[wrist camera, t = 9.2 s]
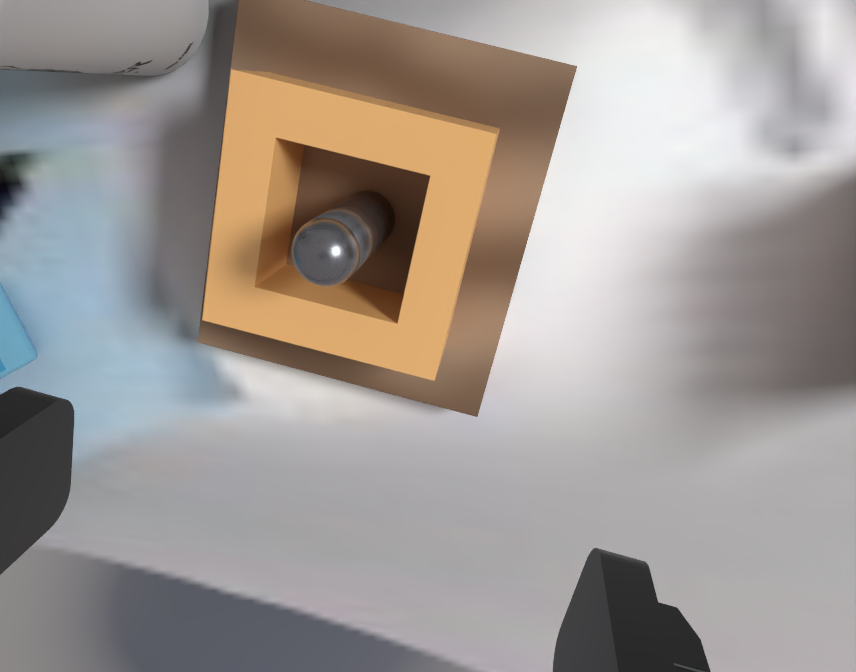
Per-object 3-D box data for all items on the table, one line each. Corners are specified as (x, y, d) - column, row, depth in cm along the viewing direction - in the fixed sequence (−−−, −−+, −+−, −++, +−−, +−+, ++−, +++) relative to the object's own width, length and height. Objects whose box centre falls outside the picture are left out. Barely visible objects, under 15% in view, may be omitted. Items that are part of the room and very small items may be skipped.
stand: (257, -9, 30) (135, -56, 21) (573, 67, 30) (597, 56, 20) (214, 329, 36) (102, 415, 26) (479, 399, 35) (463, 514, 26)
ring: (268, 72, 29) (231, 69, 26) (500, 128, 29) (496, 133, 25) (238, 294, 33) (202, 319, 29) (444, 347, 32) (434, 380, 29)
